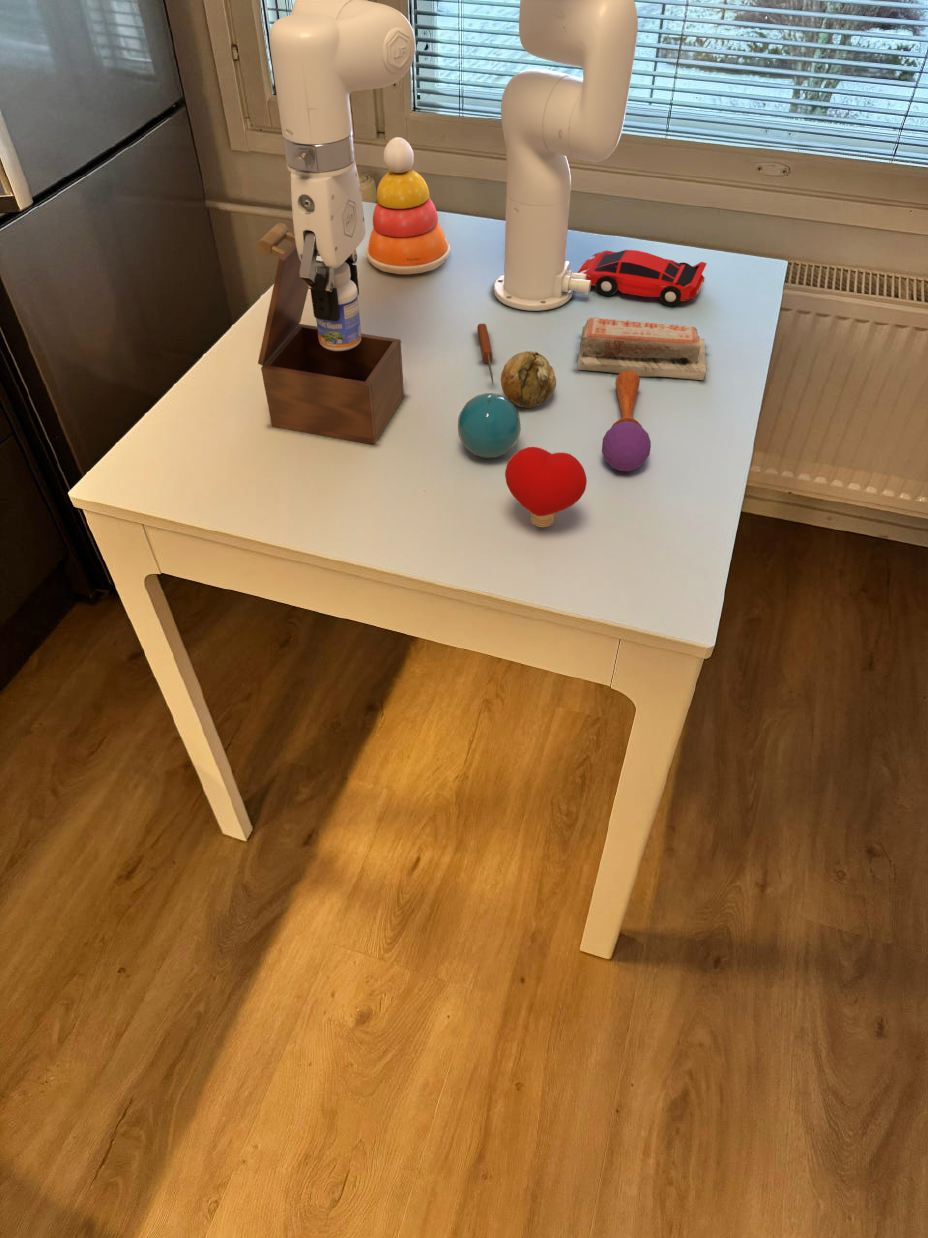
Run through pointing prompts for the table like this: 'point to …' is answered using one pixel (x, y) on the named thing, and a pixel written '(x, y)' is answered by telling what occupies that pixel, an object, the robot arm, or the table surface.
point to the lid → (282, 291)
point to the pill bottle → (341, 314)
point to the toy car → (643, 275)
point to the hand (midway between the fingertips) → (337, 305)
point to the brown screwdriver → (485, 345)
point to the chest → (334, 386)
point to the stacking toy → (405, 218)
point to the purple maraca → (626, 429)
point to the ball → (489, 425)
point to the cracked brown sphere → (528, 379)
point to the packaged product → (642, 348)
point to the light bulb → (545, 482)
